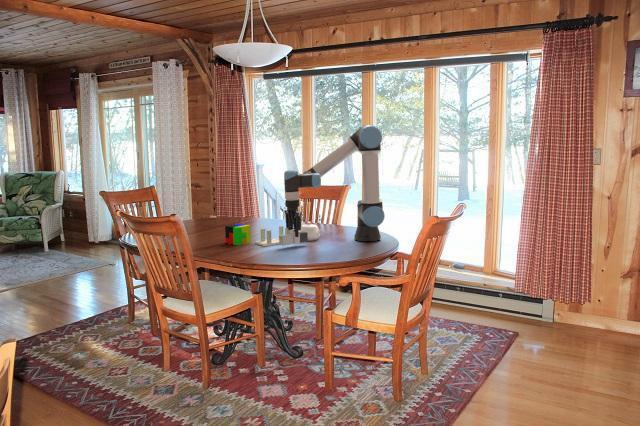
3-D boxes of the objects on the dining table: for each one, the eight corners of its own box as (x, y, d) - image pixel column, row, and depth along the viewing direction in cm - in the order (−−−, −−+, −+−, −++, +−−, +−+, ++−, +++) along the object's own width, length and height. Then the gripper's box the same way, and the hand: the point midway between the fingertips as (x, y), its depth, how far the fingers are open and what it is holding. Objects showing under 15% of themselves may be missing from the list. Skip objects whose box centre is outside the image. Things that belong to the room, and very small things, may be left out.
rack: (295, 241, 296) (294, 227, 294) (264, 246, 284) (264, 231, 283) (285, 238, 304) (285, 224, 302) (255, 243, 292) (255, 229, 291)
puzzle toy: (239, 240, 301) (238, 223, 299) (251, 242, 294) (250, 225, 293) (225, 243, 293) (225, 226, 291) (237, 245, 287) (237, 228, 285)
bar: (307, 241, 286) (307, 232, 285) (282, 245, 277) (282, 236, 276) (304, 240, 289) (304, 231, 288) (279, 244, 280) (279, 235, 279)
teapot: (329, 239, 300) (329, 222, 299) (314, 243, 292) (314, 225, 290) (305, 235, 314) (305, 218, 313) (290, 238, 306) (290, 221, 304)
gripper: (306, 199, 275) (308, 243, 278) (289, 197, 288) (291, 238, 292) (294, 201, 270) (296, 245, 274) (278, 198, 283) (280, 240, 287)
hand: (294, 242), depth 283 cm, fingers closed on bar, 3 cm apart
